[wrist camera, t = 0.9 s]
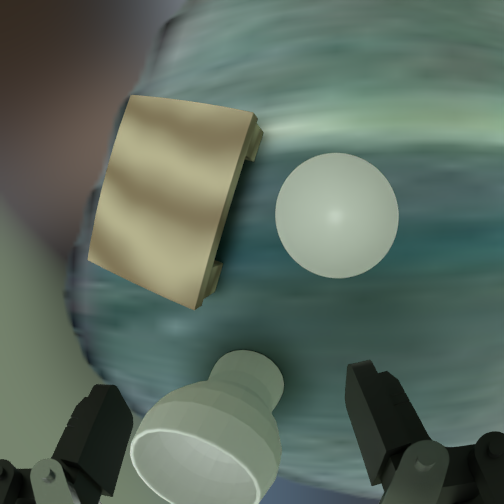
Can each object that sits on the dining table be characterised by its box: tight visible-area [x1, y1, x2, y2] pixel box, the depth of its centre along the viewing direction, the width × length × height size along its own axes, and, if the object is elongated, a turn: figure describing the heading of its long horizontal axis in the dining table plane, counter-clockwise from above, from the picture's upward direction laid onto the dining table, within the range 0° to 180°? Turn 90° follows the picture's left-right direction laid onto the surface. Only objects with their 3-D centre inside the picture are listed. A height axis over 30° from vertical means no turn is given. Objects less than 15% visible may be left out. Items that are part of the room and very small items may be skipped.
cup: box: [130, 350, 284, 504], centre depth 23 cm, size 11×11×15 cm
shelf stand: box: [88, 95, 263, 310], centre depth 27 cm, size 16×12×6 cm
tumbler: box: [275, 153, 399, 278], centre depth 20 cm, size 6×6×13 cm
